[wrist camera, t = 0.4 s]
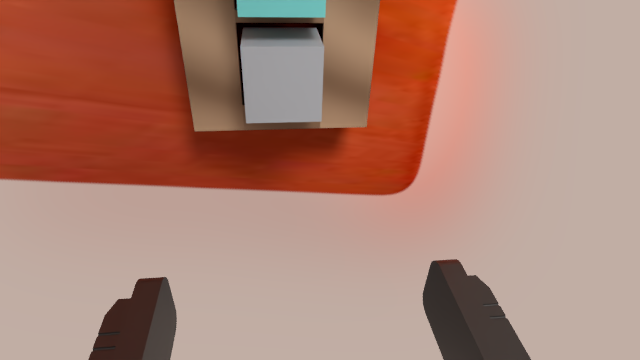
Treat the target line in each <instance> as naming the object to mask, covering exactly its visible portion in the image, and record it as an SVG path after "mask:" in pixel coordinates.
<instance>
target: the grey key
mask: <svg viewBox="0 0 640 360" xmlns="http://www.w3.org/2000/svg"><path fill="white" fill-rule="evenodd" d="M240 50H241V63H242V75H243V88H244V101H245V114H246V123H282V122H321V121H322V94H323V67H324V45H323V42H322V40H321V38H320V35H319V33H318V31H317V28H262V27H243V32H242V38H241V45H240Z"/></svg>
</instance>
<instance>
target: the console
mask: <svg viewBox="0 0 640 360" xmlns="http://www.w3.org/2000/svg"><path fill="white" fill-rule="evenodd" d="M379 4H380V0H326V14H325V18H316V17H238V11H237V8H235V3H234V0H174V5H175V11H176V17H177V24H178V30H179V36H180V42H181V49H182V55H183V61H184V68H185V74H186V80H187V86H188V93H189V99H190V105H191V112H192V118H193V124H194V130H195V131H230V130H269V129H308V128H347V127H366V126H367V117H368V107H369V98H370V89H371V79H372V70H373V60H374V51H375V42H376V32H377V23H378V14H379ZM236 23H323V30H322V42H323V45H324V67H323V94H322V121H321V122H282V123H246V114H245V101H244V91H243V92H242V89H241V77H240V65H239V52H238V40H237V28H236Z"/></svg>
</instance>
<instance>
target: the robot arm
mask: <svg viewBox="0 0 640 360" xmlns="http://www.w3.org/2000/svg"><path fill="white" fill-rule="evenodd" d="M423 305H424V310H425V313H426V316H427V318H428V320H429V323H430V326H431V328H432V331H433V333H434V336H435V338H436V341H437V344H438V346H439V349H440V351H441V354H442V356H443V359H444V360H531V359H530V357H529V355H528V354H527V352H526V350H525V348H524V347H523V345H522V343H521V342H520V340H519V338H518V336H517V335H516V333H515V331H514V329H513V328H512V326H511V324H510V322H509V321H508V319H506V318H505V314H504V312H503V310H502V309H501V307H500V306H499V305H498V302H497V300H496V298H495V297H494V295H493V293H492V291H491V290H490V288H489V287H488V286H487V285H486V284H485V283H483V282H482V281H481V280H480V279H479V278H478V277H477V276H476V275H474V276H467V274H466V272H465V270H464V268H463V266H462V265H461V263H460V262H459V261H458V260H457V259H456V260H439V261H433V262H432V263H431V265H430V269H429V273H428V276H427V280H426V284H425V287H424V291H423ZM175 331H176V309H175V305H174V301H173V298H172V294H171V290H170V286H169V283H168V280H167V278H166V277H161V278H145V279H139V280H138V281H137V282H136V285H135V288H134V291H133V294H132V297H131V298H130V299H118V300H117V302H116V303H115V304H114V305H113V306H112V308H111V309H110V310H109V311H108V312H107V314H106V315H105V317H104V319H103V322H102V325H101V328H100V330H99V333H98V334H99V335H98V337H97V338H96V341H95V344H94V347H93V352H91V354H90V357H89V360H170V357H171V352H172V347H173V341H174V337H175Z"/></svg>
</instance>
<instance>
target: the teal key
mask: <svg viewBox="0 0 640 360" xmlns="http://www.w3.org/2000/svg"><path fill="white" fill-rule="evenodd" d="M237 11H238V17H316V18H325V14H326V0H237Z"/></svg>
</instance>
